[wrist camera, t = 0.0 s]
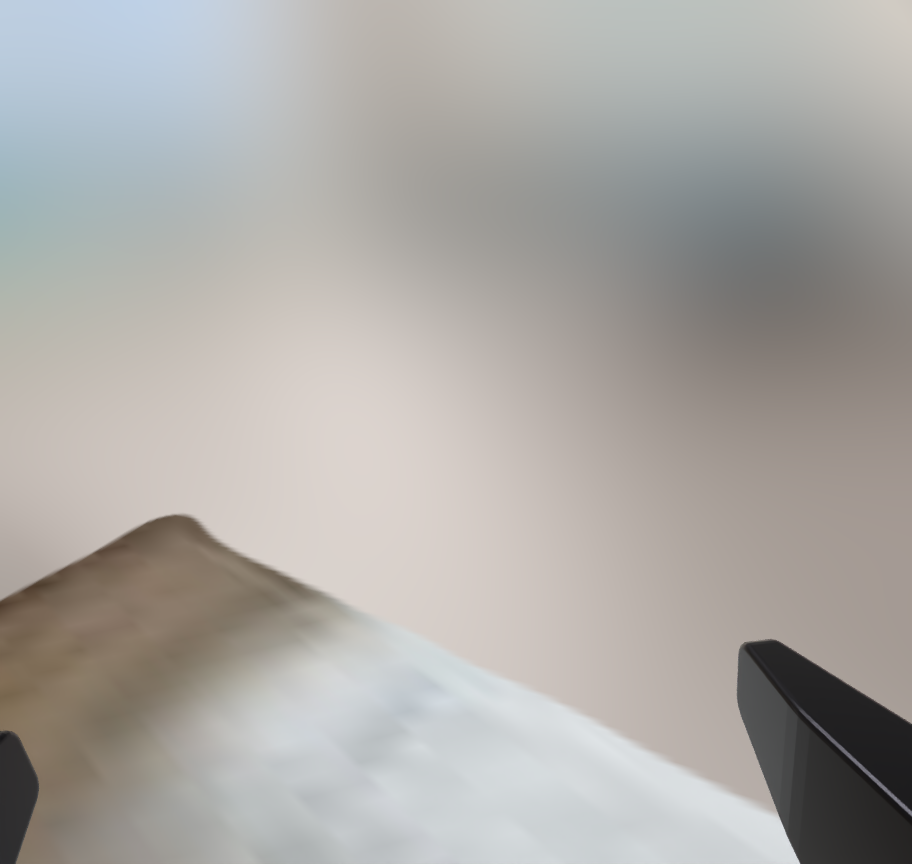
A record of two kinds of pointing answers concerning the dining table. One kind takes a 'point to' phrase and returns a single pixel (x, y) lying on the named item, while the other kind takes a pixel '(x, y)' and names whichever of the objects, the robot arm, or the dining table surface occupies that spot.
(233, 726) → the dining table surface
